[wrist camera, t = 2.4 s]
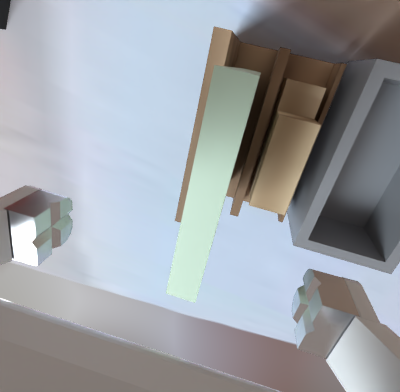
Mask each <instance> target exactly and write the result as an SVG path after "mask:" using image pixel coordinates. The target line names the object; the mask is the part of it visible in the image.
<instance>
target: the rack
mask: <svg viewBox="0 0 400 392" xmlns="http://www.w3.org/2000/svg"><path fill="white" fill-rule="evenodd" d="M290 52H291V50H290V49H286V48H281V47H280V49H279V50H278V51H277V50H273V49H268V48H264V47H260V46H255V45H251V44H247V43H242V42H240V41H239V39H238V38H237V37H236V35H235V34H234V33H233V31H231V30H227V29H222V28H218V27H214V29H213V34H212V39H211V44H210V49H209V54H208V59H207V64H206V69H205V74H204V79H203V84H202V89H201V94H200V99H199V104H198V109H197V114H196V119H195V124H194V129H193V134H192V139H191V144H190V149H189V154H188V159H187V164H186V169H185V174H184V179H183V184H182V188H181V193H180V198H179V203H178V208H177V213H176V218H175V221H177V222H181V220H182V215H183V210H184V206H185V201H186V196H187V191H188V187H189V182H190V177H191V173H192V168H193V163H194V159H195V154H196V149H197V144H198V140H199V135H200V130H201V126H202V121H203V116H204V112H205V107H206V102H207V97H208V93H209V88H210V83H211V79H212V74H213V69H214V65H218V66H227V67H236V68H244V69H248V70H253V71H257V72H261V75H260V78H259V82H258V85H257V89H256V92H255V96H254V99H253V103H252V106H251V110H250V113H249V117H248V120H247V124H246V127H245V131H244V134H243V138H242V141H241V145H240V148H239V152H238V155H237V159H236V162H235V166H234V169H233V173H232V176H231V180H230V183H229V187H228V190H227V194H226V196H229V197H232V198H234V199H233V203H232V208H231V212H230V214H231V215H234V216H238V214H239V211H240V208H241V205H242V202H243V201H247V202H249V201H250V197H249V190H250V184H251V181H252V177H253V174H254V171H255V168H256V165H257V162H258V159H259V156H260V153H261V150H262V147H263V143H264V140H265V137H266V134H267V131H268V128H269V125H270V122H271V119H272V116H273V113H274V109H275V106H276V103H277V100H278V97H279V94H280V91H281V88H282V85H283V82H284V78H286V79H290V80H295V81H299V82H303V83H307V84H311V85H316V86H320V87H323V88H326V91H325V93H324V96H323V98H322V101H321V103H320V106H319V109H318V111H317V114H316V116H315V120H316V121H317V122H318V123H319V124H320V125H321V126H322V124H323V122H324V119H325V117H326V114H327V112H328V109H329V107H330V104H331V102H332V99H333V97H334V95H335V92H336V90H337V87H338V85H339V82H340V80H341V77H342V75H343V73H344V70H345V68H346V65H347V64H344V63H336V64H334V63H329V62H325V61H321V60H316V59H312V58H308V57H303V56H299V55H294V54H290ZM320 129H321V127H320ZM320 129H319V131H320ZM318 134H319V132H318ZM318 134H317V136H318ZM316 139H317V137H316ZM316 139H315V141H316ZM314 144H315V142H314ZM314 144H313V146H314ZM312 148H313V147H312ZM311 151H312V149H311ZM310 153H311V152H310ZM309 156H310V154H309ZM309 156H308V158H309ZM307 161H308V159H307ZM307 161H306V163H307ZM305 166H306V164H305ZM305 166H304V168H305ZM303 170H304V169H303ZM302 173H303V171H302ZM301 175H302V174H301ZM300 178H301V176H300ZM299 180H300V179H299ZM298 183H299V181H298ZM298 183H297V185H298ZM296 188H297V186H296ZM296 188H295V190H296ZM294 192H295V191H294ZM293 195H294V193H293ZM292 197H293V196H292ZM291 200H292V198H291ZM290 202H291V201H290ZM289 205H290V203H289ZM288 207H289V206H288ZM287 210H288V208H287ZM287 210H286V212H287ZM285 214H286V213H285ZM284 217H285V215H282V214H278V221H280V222H283V219H284Z"/></svg>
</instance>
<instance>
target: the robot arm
mask: <svg viewBox="0 0 400 392" xmlns="http://www.w3.org/2000/svg"><path fill="white" fill-rule="evenodd" d="M72 210H73V209H72V200H71V199H70V198H68V197H65V196H62V195H59V194H56V193H52V192H49V191H46V190H42V189H40V188H36V187H33V186H23V187H21V188H19V189H17V190H15V191H13V192H11V193H9V194H7V195H5V196H3V197H1V198H0V265H2V264H4V263H7V262H10V261H12V259H14V260H17V261H21V262H24V263H28V264H31V265H35V266H38V265H40V264H41V263H42V262H43V261H44V260H45V259H46V258H48V257H49V256H50V255H51V254H52V248H55V247H59V246H61V245H62V244H63V243H64V242H66V241H67V239H68V237H69V235H70V234H71V230H72V219H71V218H70V216H69V213H70V212H71V211H72ZM303 281H304V285H303V286H301V287H299V288H298V289H297V291H296V293H295V295H294V299H293V303H292V315H293V319H294V320H295V321H296V322H297V326H296V328H295V337H296V343H297V349H299V350H301V351H304V352H307V353H310V354H313V355H316V356H319V357H322V358H324V359H327V360H326V361H327V363H328V364H329V366H330V368H331V369H332V371H333V372H334V374H335V375H336V377H337V378H338V380H339V381H340V383H341V384H342V386H343V388H344V389H345V391H346V392H400V337H399V336H397V335H396V334H395V333H394V332H393V331H392V330H391V329H390V328H389V327H387V326H386V325H384V324H381V323H380V322H379V320H378V318H377V315H376V313H375V311H374V309H373V307H372V305H371V303H370V301H369V299H368V297H367V295H366V293H365V291H364V289H363V287H362V285H361V284H360V283H359V282H358V281H354V280H350V279H346V278H343V277H338V276H334V275H330V274H327V273H323V272H320V271H316V270H312V269H308V270H307V271H306V273H305V275H304V277H303ZM0 392H281V391H278V390H275V389H271V388H269V387H265V386H263V385H260V384H257V383H254V382H251V381H247V380H244V379H242V378H238V377H236V376H233V375H229V374H227V373H224V372H221V371H218V370H215V369H212V368H209V367H206V366H203V365H200V364H197V363H193V362H191V361H188V360H185V359H182V358H179V357H176V356H173V355H170V354H167V353H164V352H161V351H158V350H155V349H152V348H149V347H146V346H143V345H140V344H137V343H134V342H131V341H128V340H125V339H122V338H119V337H115V336H113V335H110V334H107V333H104V332H101V331H98V330H95V329H91V328H89V327H86V326H82V325H80V324H77V323H74V322H71V321H67V320H65V319H62V318H58V317H56V316H53V315H50V314H46V313H44V312H41V311H38V310H34V309H32V308H29V307H26V306H23V305H19V304H16V303H13V302H11V301H8V300H5V299H1V298H0Z"/></svg>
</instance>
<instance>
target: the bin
mask: <svg viewBox="0 0 400 392" xmlns="http://www.w3.org/2000/svg"><path fill="white" fill-rule="evenodd" d="M287 214H288V219H289V225H290V231H291V236H292V242H293V245H294V246H297V247H300V248H304V249H307V250H311V251H314V252H317V253H321V254H324V255H328V256H331V257H335V258H338V259H341V260H345V261H348V262H352V263H355V264H358V265H362V266H365V267H369V268H372V269H375V270H379V271H382V272H386V273H389V274H392V272H393V271H394V269H395V268H396V266H397V265H398V264H399V262H400V64H399V63H394V62H390V61H385V60H381V59H369V60H359V61H349V62H348V64H347V66H346V69H345V71H344V73H343V76H342V78H341V81H340V83H339V86H338V88H337V91H336V93H335V95H334V98H333V100H332V103H331V105H330V108H329V110H328V113H327V115H326V117H325V120H324V122H323V125H322V127H321V130H320V132H319V135H318V137H317V139H316V142H315V144H314V147H313V149H312V152H311V154H310V157H309V159H308V161H307V164H306V166H305V169H304V171H303V174H302V176H301V179H300V181H299V183H298V186H297V188H296V191H295V193H294V196H293V198H292V201H291V203H290V205H289V208H288V210H287Z"/></svg>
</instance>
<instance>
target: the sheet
mask: <svg viewBox="0 0 400 392" xmlns="http://www.w3.org/2000/svg"><path fill="white" fill-rule="evenodd" d="M260 75H261V72H257V71H253V70H248V69H244V68H236V67H227V66H218V65H214V69H213V74H212V79H211V83H210V88H209V93H208V97H207V102H206V107H205V112H204V116H203V121H202V126H201V130H200V135H199V140H198V144H197V149H196V154H195V159H194V163H193V168H192V173H191V177H190V182H189V187H188V191H187V196H186V201H185V206H184V210H183V215H182V220H181V224H180V229H179V234H178V239H177V243H176V248H175V253H174V257H173V262H172V267H171V271H170V276H169V281H168V286H167V290H166V294H169V295H172V296H175V297H178V298H181V299H185V300H188V301H191V302H194V303H195V302H196V298H197V295H198V291H199V288H200V284H201V281H202V277H203V274H204V270H205V267H206V263H207V260H208V256H209V253H210V249H211V246H212V242H213V239H214V236H215V232H216V229H217V225H218V222H219V218H220V215H221V211H222V208H223V204H224V201H225V197H226V194H227V190H228V187H229V183H230V180H231V176H232V173H233V169H234V166H235V162H236V159H237V155H238V152H239V148H240V145H241V141H242V138H243V134H244V131H245V127H246V124H247V120H248V117H249V113H250V110H251V106H252V103H253V99H254V96H255V92H256V89H257V85H258V82H259V78H260Z"/></svg>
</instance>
